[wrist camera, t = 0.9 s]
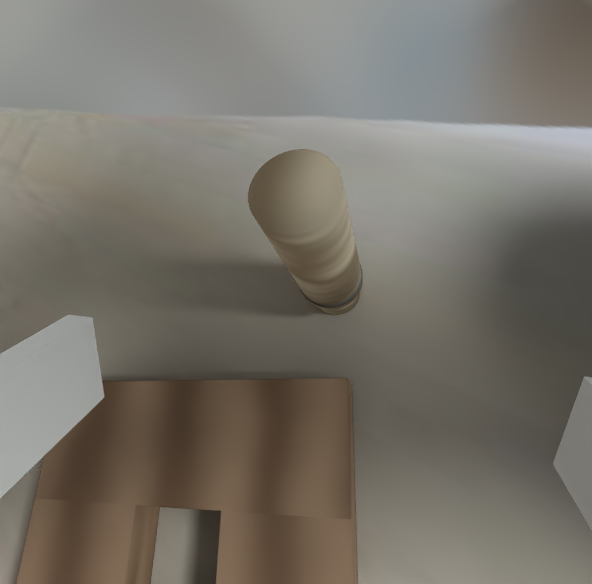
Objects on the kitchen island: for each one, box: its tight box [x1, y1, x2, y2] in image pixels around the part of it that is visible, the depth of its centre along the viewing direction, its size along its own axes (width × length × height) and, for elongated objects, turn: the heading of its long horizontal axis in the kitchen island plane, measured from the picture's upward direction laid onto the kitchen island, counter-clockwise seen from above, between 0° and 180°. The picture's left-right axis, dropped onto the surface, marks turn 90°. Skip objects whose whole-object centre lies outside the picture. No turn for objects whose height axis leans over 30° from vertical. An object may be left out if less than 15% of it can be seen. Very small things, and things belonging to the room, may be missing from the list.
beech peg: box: [248, 149, 362, 315], centre depth 24 cm, size 4×4×14 cm
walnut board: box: [16, 378, 358, 584], centre depth 25 cm, size 22×22×3 cm
